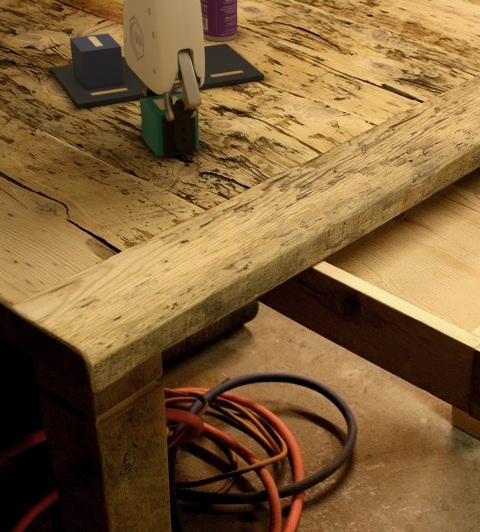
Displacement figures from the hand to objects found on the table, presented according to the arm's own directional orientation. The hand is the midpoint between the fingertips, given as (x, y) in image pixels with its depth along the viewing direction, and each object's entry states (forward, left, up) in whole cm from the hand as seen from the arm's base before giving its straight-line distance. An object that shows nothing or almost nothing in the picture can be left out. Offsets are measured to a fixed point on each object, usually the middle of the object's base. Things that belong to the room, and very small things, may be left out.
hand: (170, 140), depth 94 cm
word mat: (+5, +17, 0) cm, 18 cm away
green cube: (0, 0, 0) cm, 0 cm away
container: (+17, +27, -1) cm, 32 cm away
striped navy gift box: (-2, +17, 0) cm, 17 cm away
